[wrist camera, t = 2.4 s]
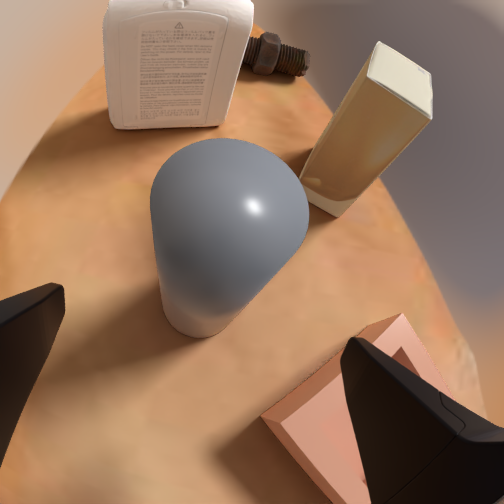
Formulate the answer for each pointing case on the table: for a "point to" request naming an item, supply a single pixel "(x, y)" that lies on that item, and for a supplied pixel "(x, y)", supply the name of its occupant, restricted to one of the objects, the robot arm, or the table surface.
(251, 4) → the photo printer
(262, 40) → the bolt
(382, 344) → the tray
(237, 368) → the table surface
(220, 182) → the grey dome-topped post
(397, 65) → the skincare box
